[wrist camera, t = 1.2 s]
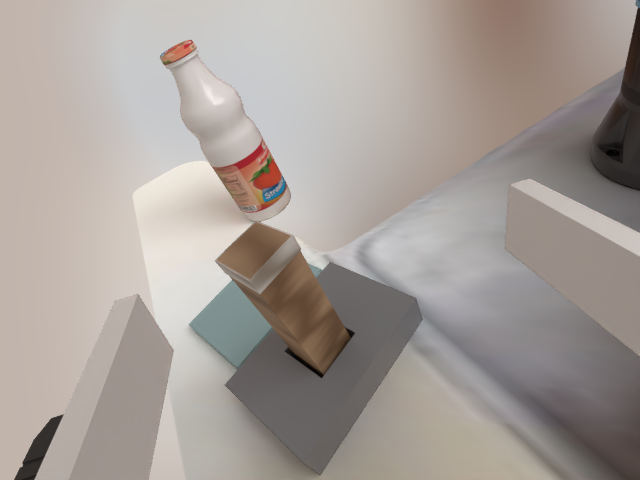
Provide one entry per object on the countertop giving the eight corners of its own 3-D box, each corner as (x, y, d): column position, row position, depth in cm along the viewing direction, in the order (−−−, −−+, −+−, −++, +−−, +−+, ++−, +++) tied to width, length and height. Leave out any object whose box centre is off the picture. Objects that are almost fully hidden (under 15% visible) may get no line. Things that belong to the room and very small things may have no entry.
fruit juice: (250, 195, 71) (159, 48, 52) (294, 183, 68) (215, 24, 50) (240, 228, 64) (132, 73, 46) (289, 215, 61) (194, 46, 43)
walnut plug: (328, 331, 42) (255, 220, 30) (359, 350, 39) (293, 235, 27) (302, 365, 40) (214, 260, 28) (333, 387, 37) (249, 281, 25)
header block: (340, 281, 47) (330, 261, 44) (422, 319, 39) (416, 298, 37) (243, 400, 40) (224, 385, 37) (319, 475, 32) (303, 462, 30)
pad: (269, 249, 57) (266, 244, 56) (323, 274, 49) (321, 269, 48) (192, 328, 51) (188, 324, 50) (240, 371, 43) (236, 367, 42)
